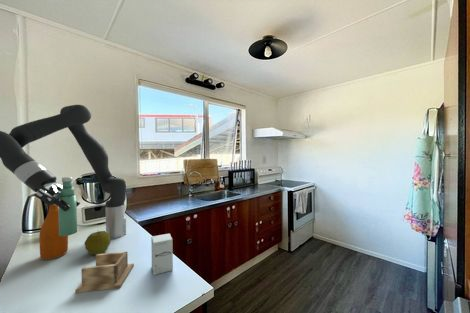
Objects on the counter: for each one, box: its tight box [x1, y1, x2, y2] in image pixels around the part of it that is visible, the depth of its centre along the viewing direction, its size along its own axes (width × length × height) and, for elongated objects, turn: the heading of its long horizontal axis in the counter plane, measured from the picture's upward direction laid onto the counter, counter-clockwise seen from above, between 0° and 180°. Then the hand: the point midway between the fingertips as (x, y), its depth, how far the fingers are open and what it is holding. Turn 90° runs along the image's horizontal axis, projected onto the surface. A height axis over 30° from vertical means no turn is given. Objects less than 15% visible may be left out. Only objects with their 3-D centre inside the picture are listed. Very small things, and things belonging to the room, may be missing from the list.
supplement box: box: [151, 233, 174, 276], centre depth 81 cm, size 7×7×13 cm
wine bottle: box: [38, 198, 69, 260], centre depth 93 cm, size 10×10×30 cm
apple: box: [84, 230, 111, 256], centre depth 95 cm, size 10×10×11 cm
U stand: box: [74, 251, 135, 294], centre depth 75 cm, size 14×14×7 cm
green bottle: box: [58, 176, 78, 237], centre depth 75 cm, size 5×5×21 cm
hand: (73, 207), depth 75 cm, fingers closed on green bottle, 5 cm apart
